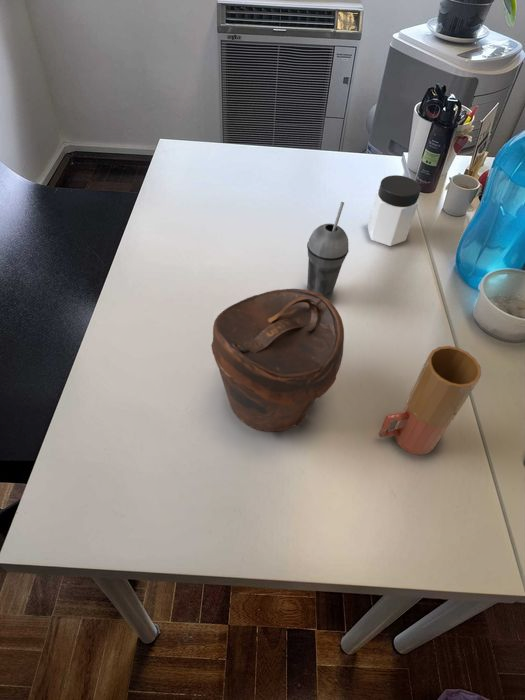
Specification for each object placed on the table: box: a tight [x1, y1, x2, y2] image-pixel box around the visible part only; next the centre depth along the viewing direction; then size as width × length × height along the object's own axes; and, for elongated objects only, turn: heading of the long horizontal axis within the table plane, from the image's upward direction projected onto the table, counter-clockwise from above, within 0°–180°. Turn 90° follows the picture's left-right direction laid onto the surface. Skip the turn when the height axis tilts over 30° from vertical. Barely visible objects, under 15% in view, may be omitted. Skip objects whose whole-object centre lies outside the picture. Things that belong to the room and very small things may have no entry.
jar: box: [367, 174, 422, 247], centre depth 100 cm, size 9×8×12 cm
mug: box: [377, 400, 452, 456], centre depth 68 cm, size 9×6×8 cm, turn 99°
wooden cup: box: [407, 345, 482, 426], centre depth 61 cm, size 6×6×9 cm
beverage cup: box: [306, 201, 349, 301], centre depth 83 cm, size 7×7×20 cm
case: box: [210, 288, 345, 432], centre depth 68 cm, size 18×20×18 cm
